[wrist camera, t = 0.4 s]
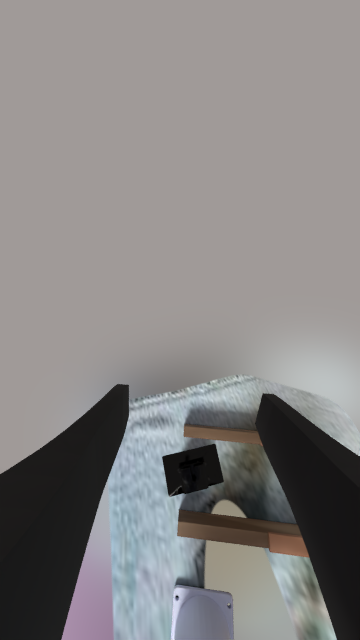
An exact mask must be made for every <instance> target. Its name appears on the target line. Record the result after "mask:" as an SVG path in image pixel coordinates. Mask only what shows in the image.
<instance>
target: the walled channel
mask: <svg viewBox="0 0 360 640" xmlns="http://www.w3.org/2000/svg"><path fill="white" fill-rule="evenodd" d="M184 437H192V438H202V439H212V440H222V441H231V442H241V443H251V444H261V446H263V445H262V443H261V440H260V437H259V434H258V431H253V430H243V429H232V428H222V427H212V426H201V425H191V424H184ZM177 536H181V537H188V538H196V539H203V540H211V541H218V542H226V543H234V544H241V545H248V546H256V547H263V548H269V550H270V552H273V553H280V554H287V555H295V556H302V557H309V555H308V552H307V549H306V546H305V543H304V541H303V538H302V535H301V533H300V530H299V527H298V525H297V524H290V523H282V522H274V521H266V520H258V519H250V518H241V517H234V516H226V515H218V514H210V513H202V512H194V511H186V510H179V517H178V533H177Z"/></svg>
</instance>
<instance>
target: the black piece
mask: <svg viewBox="0 0 360 640" xmlns="http://www.w3.org/2000/svg"><path fill="white" fill-rule="evenodd" d="M162 459H163V465H164V471H165V477H166V483H167V489H168V495H169V497H171V496H175V495H178V494H182V493H184V494H188V493H191V492H195V491H199V490H203V489H207V488H208V486H212V485H215V484H219V483H223V482H224V480H223V476H222V471H221V467H220V462H219V458H218V453H217V449H216V445H215V444H212V445H208V446H203V447H199V448H195V449H191V450H187V451H183V452H178V453H174V454H170V455H166V456H163V457H162Z"/></svg>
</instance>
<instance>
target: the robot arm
mask: <svg viewBox="0 0 360 640" xmlns="http://www.w3.org/2000/svg"><path fill="white" fill-rule="evenodd" d="M128 417H129V385H122V384H117V385H116V386H114V387H113V388H112V389H111V390H110V391H109V392H108V393H107V394H106V395H105V396H104V397H103V398H102V399H101V400H100V401H99V402H98V403H96V404H95V405H94V406H93V407H92V408H91V409H90V410H89V411H87V412H86V413H85V414H84V415H83V416H82V417H81V418H79V419H78V420H77V421H76V422H74V423H73V424H72V425H71V426H70V427H68V428H67V429H66V430H65V431H63V432H62V433H61V434H60V435H58V436H57V437H56V438H54V439H53V440H51V441H50V442H49V443H47V444H46V445H45V446H43V447H42V448H40V449H39V450H37V451H36V452H34V453H33V454H32V455H30V456H28V457H27V458H25V459H24V460H22V461H21V462H19V463H18V464H16V465H14V466H13V467H11V468H10V469H8V470H7V471H5V472H3V473H2V474H0V640H61V639H62V635H63V631H64V627H65V623H66V619H67V615H68V612H69V608H70V605H71V601H72V597H73V593H74V590H75V586H76V583H77V579H78V575H79V572H80V568H81V564H82V561H83V557H84V554H85V550H86V546H87V543H88V540H89V536H90V533H91V529H92V526H93V522H94V519H95V516H96V512H97V509H98V505H99V502H100V499H101V496H102V493H103V490H104V487H105V485H106V482H107V479H108V477H109V474H110V471H111V469H112V466H113V463H114V461H115V458H116V455H117V453H118V450H119V447H120V445H121V442H122V439H123V437H124V433H125V429H126V425H127V421H128ZM255 424H256V428H257V431H258V434H259V437H260V440H261V443H262V445H263V447H264V450H265V452H266V454H267V456H268V459H269V461H270V463H271V465H272V467H273V469H274V472H275V474H276V476H277V478H278V480H279V482H280V484H281V487H282V489H283V491H284V493H285V495H286V497H287V500H288V502H289V504H290V507H291V509H292V511H293V514H294V517H295V519H296V522H297V525H298V527H299V530H300V533H301V535H302V538H303V541H304V543H305V546H306V549H307V552H308V555H309V557H310V560H311V563H312V566H313V569H314V572H315V574H316V577H317V580H318V583H319V586H320V589H321V592H322V595H323V598H324V601H325V604H326V607H327V610H328V613H329V616H330V619H331V622H332V625H333V628H334V631H335V635H336V638H337V640H360V456H358V455H356V454H355V453H353V452H352V451H350V450H349V449H347V448H346V447H345V446H343V445H342V444H340V443H339V442H337V441H336V440H335V439H333V438H332V437H330V436H329V435H328V434H326V433H325V432H324V431H322V430H321V429H319V428H318V427H317V426H315V425H314V424H313V423H311V422H310V421H309V420H308V419H306V418H305V417H304V416H302V415H301V414H300V413H298V412H297V411H296V410H295V409H293V408H292V407H291V406H289V405H288V404H287V403H286V402H284V401H283V400H282V399H280V398H279V397H277V396H276V395H274V394H264V393H263V395H262V399H261V403H260V407H259V411H258V414H257V418H256V422H255ZM176 595H178V596H179V597H178V598H176ZM228 603H230V606H228V605H227V604H228ZM171 640H234V636H233V599H232V595H231V594H230V593H229V592H223V591H217V590H210V589H203V588H197V587H190V586H183V585H176V586H175V587H174V597H173V613H172V629H171Z"/></svg>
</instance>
